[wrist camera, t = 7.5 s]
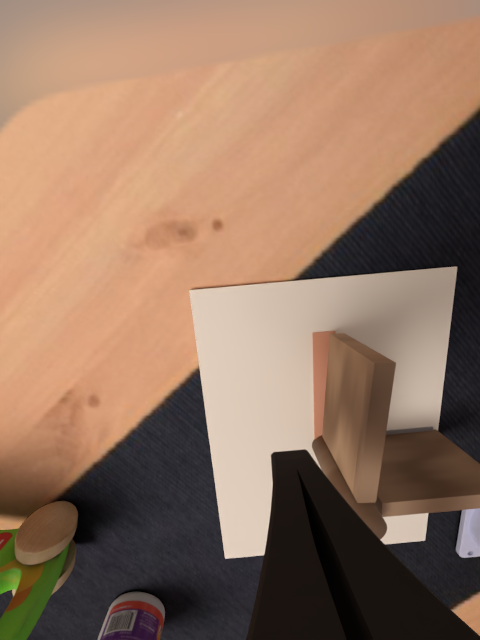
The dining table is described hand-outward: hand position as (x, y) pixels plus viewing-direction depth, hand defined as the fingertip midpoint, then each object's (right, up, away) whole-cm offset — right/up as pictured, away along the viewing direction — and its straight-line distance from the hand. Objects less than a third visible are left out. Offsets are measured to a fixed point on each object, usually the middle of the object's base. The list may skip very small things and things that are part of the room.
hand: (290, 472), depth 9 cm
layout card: (+5, -3, +9) cm, 11 cm away
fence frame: (+9, -4, +9) cm, 13 cm away
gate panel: (+5, +1, +8) cm, 9 cm away
